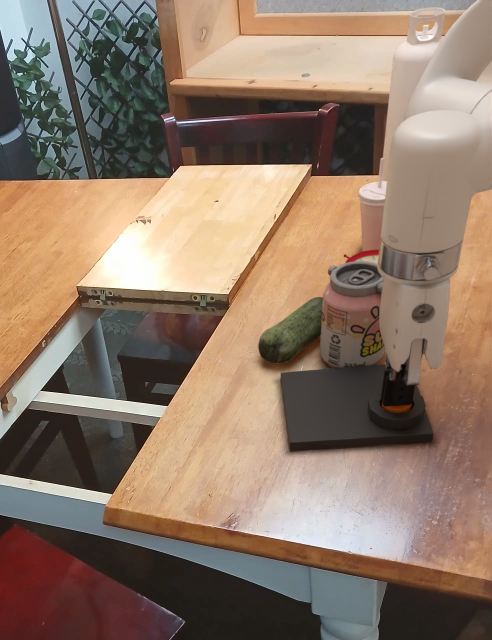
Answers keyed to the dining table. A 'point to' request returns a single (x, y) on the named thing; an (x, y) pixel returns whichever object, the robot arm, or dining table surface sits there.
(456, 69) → the robot arm
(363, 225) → the smoothie
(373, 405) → the grey button plate
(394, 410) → the button
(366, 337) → the beverage can
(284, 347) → the vegetable
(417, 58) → the bottle
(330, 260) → the dining table surface
